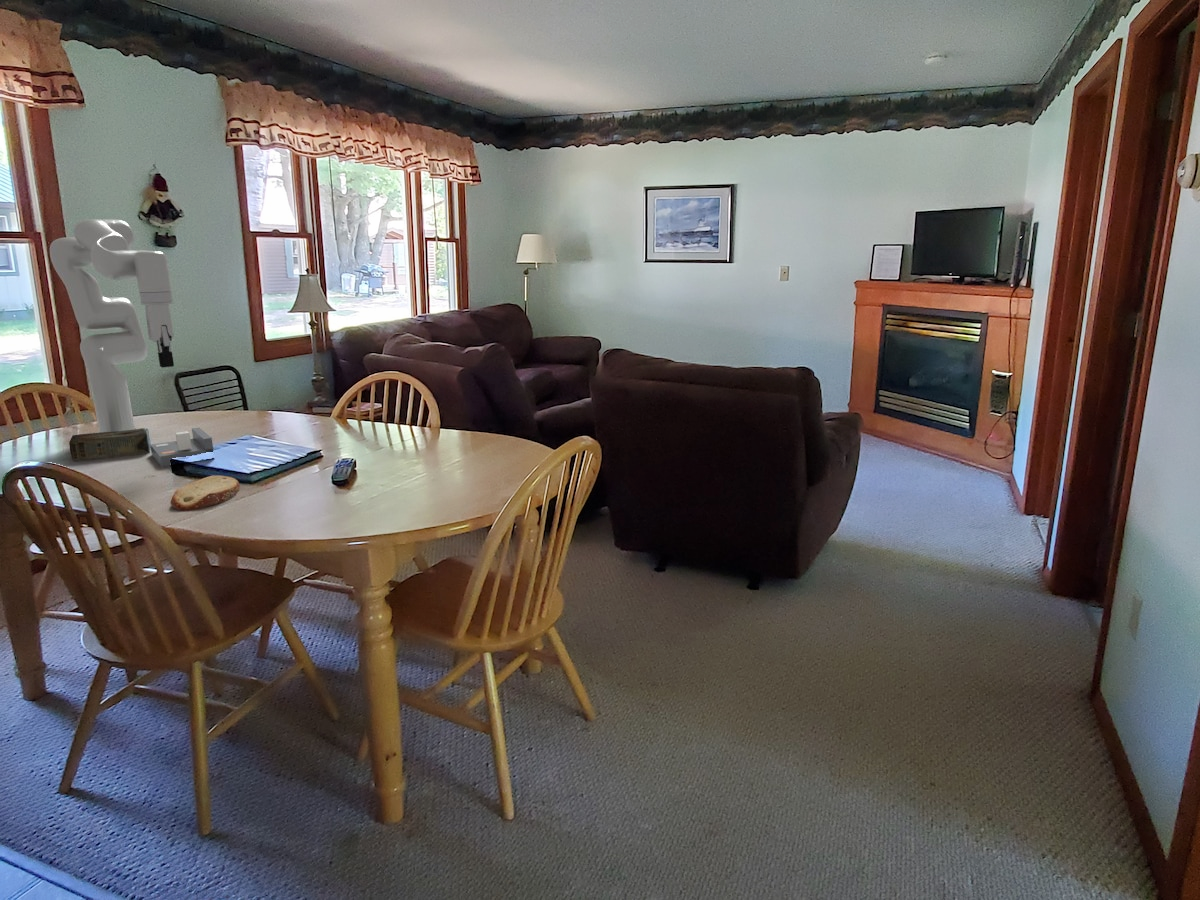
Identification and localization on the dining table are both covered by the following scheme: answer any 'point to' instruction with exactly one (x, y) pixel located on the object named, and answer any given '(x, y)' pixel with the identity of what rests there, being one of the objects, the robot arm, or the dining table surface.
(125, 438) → the beverage carton
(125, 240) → the robot arm
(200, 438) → the grey slide switch panel
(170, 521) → the dining table surface
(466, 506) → the dining table surface
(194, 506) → the bread slice
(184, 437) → the knob
